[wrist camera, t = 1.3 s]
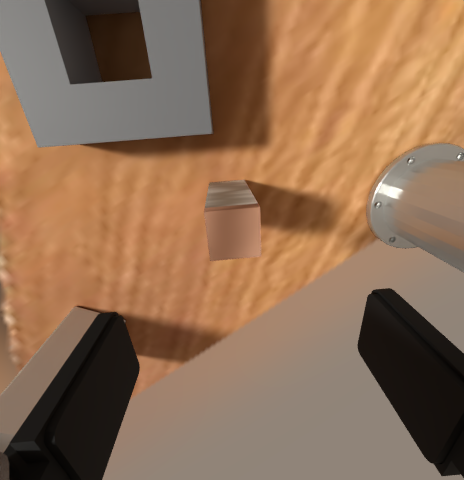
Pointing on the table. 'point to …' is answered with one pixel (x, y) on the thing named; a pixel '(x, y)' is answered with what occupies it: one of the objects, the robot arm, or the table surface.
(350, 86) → the table surface
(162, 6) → the socket block
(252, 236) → the peg
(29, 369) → the milk carton
